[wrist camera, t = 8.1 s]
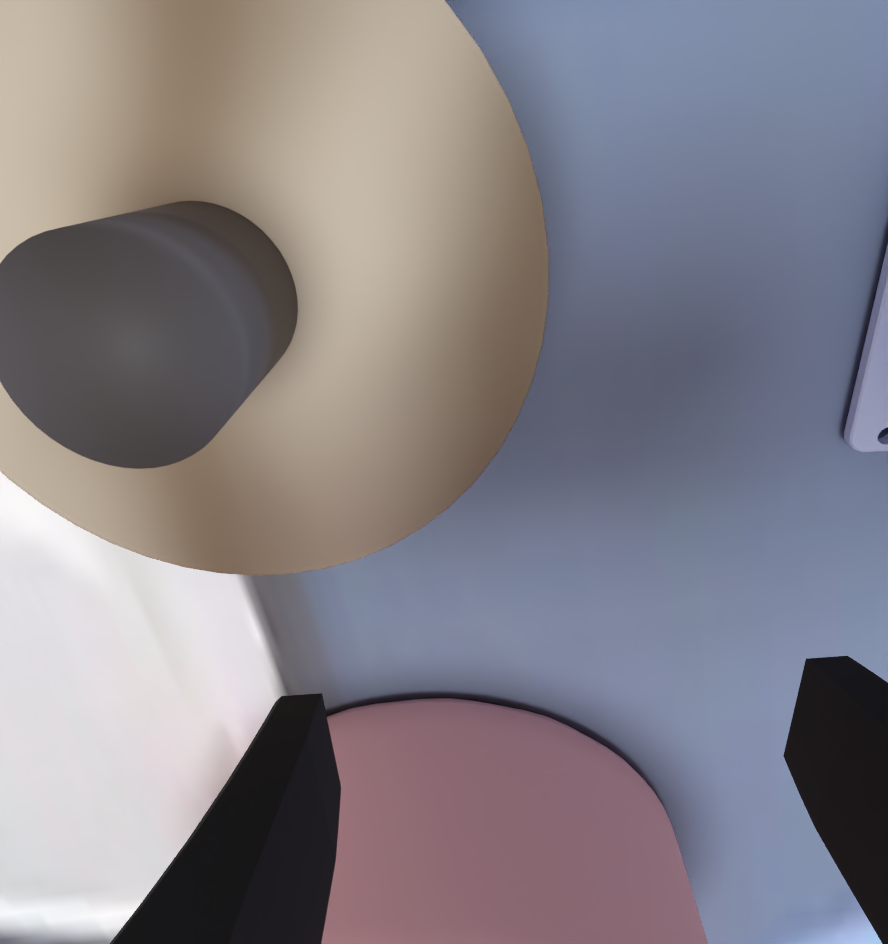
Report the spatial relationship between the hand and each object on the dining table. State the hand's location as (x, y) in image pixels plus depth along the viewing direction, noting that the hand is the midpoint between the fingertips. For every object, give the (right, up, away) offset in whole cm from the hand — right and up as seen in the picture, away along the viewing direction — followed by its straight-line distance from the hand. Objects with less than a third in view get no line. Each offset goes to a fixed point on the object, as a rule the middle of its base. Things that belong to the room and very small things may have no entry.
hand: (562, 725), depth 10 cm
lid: (-6, +7, +3) cm, 10 cm away
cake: (-2, -13, +19) cm, 23 cm away
